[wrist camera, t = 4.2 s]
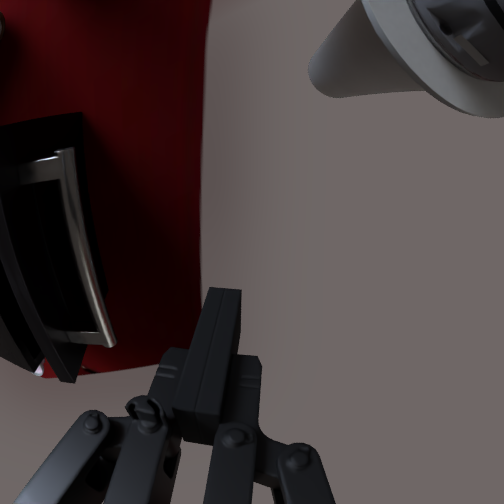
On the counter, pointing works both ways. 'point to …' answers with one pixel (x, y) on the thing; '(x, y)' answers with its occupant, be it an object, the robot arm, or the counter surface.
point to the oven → (16, 331)
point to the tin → (2, 25)
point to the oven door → (52, 239)
